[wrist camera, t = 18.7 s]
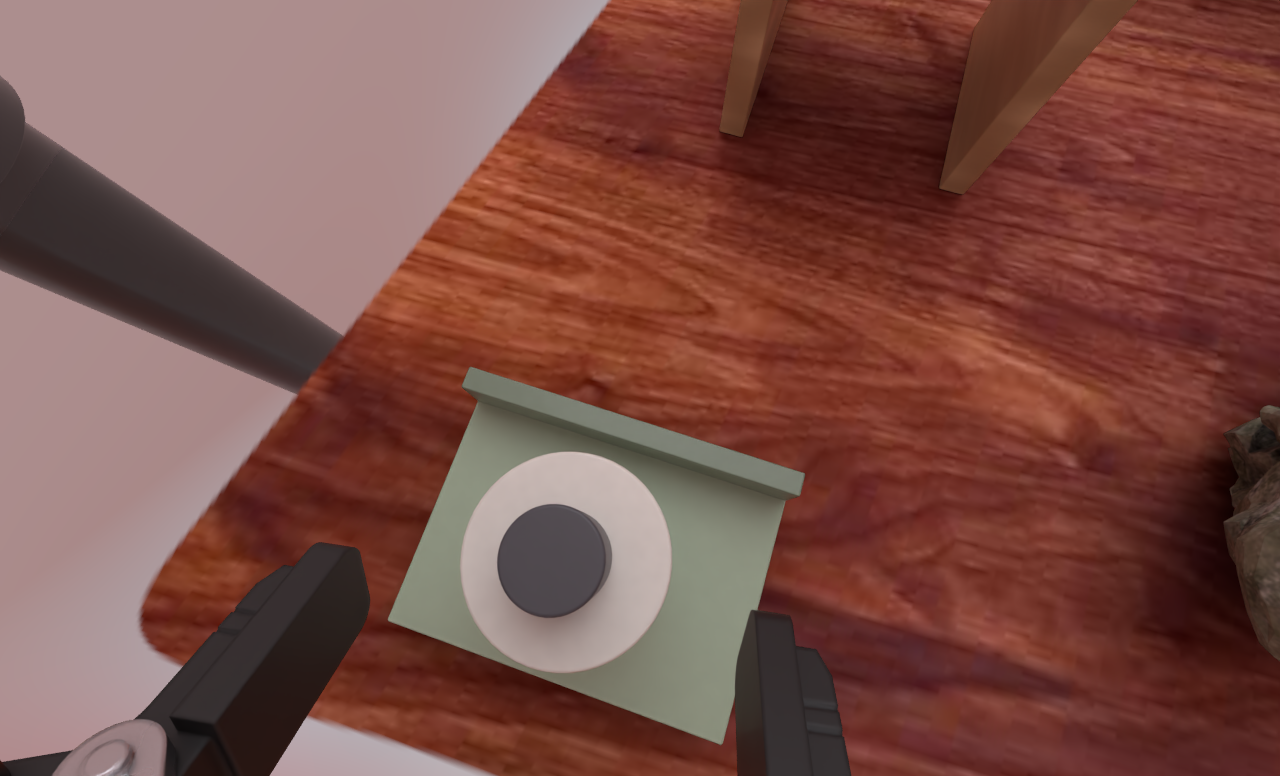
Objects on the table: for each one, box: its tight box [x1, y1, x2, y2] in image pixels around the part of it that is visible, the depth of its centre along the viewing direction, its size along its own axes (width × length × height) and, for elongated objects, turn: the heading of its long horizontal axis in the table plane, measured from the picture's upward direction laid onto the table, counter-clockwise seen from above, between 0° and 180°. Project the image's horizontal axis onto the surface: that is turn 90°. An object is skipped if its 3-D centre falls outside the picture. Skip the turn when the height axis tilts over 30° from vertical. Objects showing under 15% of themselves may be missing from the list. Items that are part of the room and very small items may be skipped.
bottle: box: [460, 452, 672, 673], centre depth 16 cm, size 5×5×9 cm
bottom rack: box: [388, 367, 805, 745], centre depth 21 cm, size 12×9×5 cm
